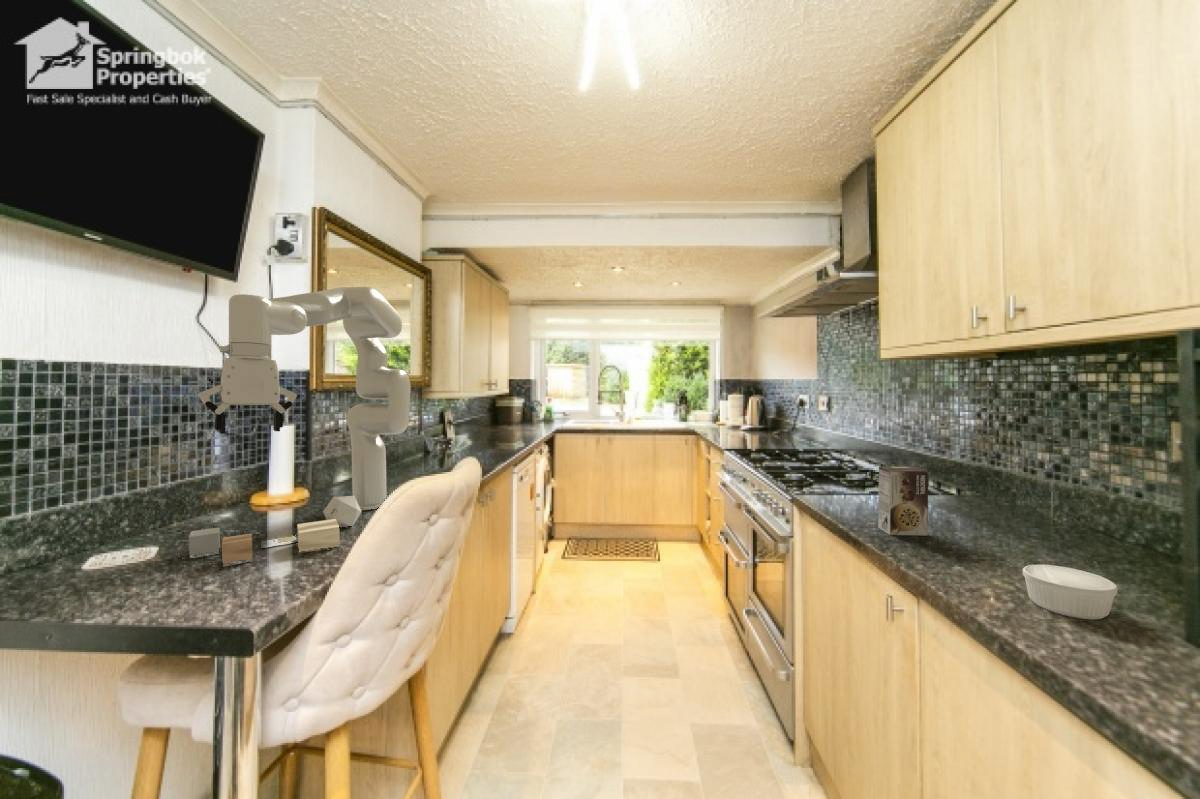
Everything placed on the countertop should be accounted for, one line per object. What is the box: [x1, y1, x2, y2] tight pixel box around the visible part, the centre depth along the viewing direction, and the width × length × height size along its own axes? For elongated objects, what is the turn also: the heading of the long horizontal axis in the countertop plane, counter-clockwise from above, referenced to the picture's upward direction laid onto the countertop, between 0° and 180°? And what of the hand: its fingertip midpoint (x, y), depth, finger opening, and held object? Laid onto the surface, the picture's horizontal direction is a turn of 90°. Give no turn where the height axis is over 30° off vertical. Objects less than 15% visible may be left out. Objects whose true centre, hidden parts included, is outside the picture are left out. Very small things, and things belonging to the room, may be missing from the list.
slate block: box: [188, 527, 221, 555], centre depth 107 cm, size 5×5×5 cm
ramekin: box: [1022, 564, 1119, 620], centre depth 80 cm, size 11×11×5 cm
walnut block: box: [221, 533, 253, 563], centre depth 102 cm, size 5×5×5 cm
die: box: [322, 495, 363, 527], centre depth 127 cm, size 8×9×10 cm
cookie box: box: [877, 466, 929, 536], centre depth 120 cm, size 9×6×16 cm
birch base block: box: [296, 519, 341, 553], centre depth 112 cm, size 8×8×5 cm
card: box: [273, 534, 297, 543], centre depth 114 cm, size 6×8×1 cm
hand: (250, 432), depth 104 cm, fingers open, 9 cm apart
